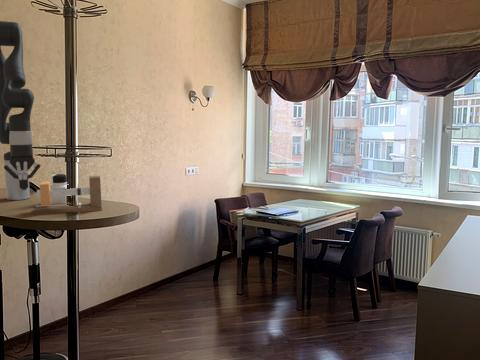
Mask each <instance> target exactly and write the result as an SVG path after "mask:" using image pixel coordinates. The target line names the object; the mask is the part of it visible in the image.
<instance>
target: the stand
mask: <svg viewBox="0 0 480 360" xmlns="http://www.w3.org/2000/svg"><path fill="white" fill-rule="evenodd" d="M88 177H89V179H88V181H89V188H90V195H89V200H90V202H77V203H78V205H76V206H69V205H67V204H68V203H67V204H50V205H45V206H41V204H39V205H35V208H34V209H33V215H49V214H63V213H64V214H65V213H66V214H67V213H79V212H96V211H97V212H99V211H102V210H103V207H102V190H101V189H102V188H101V176H100V175H89V176H88Z"/></svg>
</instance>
